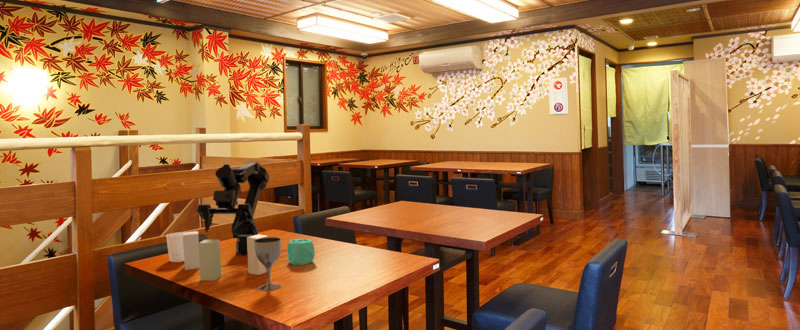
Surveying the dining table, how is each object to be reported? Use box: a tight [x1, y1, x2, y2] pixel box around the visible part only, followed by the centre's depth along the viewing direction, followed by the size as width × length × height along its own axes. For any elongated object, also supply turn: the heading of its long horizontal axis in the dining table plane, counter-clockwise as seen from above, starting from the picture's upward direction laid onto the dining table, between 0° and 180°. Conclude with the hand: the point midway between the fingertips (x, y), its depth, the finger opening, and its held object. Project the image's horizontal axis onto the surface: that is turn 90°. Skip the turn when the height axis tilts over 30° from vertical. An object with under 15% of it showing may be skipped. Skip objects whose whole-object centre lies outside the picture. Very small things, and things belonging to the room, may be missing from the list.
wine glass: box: [254, 236, 282, 292], centre depth 155 cm, size 8×8×15 cm
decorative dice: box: [286, 238, 316, 266], centre depth 184 cm, size 8×8×8 cm
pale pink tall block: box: [182, 230, 200, 271], centre depth 180 cm, size 5×5×12 cm
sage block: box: [199, 238, 222, 281], centre depth 166 cm, size 5×5×12 cm
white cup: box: [165, 231, 184, 263], centre depth 190 cm, size 8×8×10 cm
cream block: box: [247, 233, 269, 276], centre depth 172 cm, size 5×5×12 cm
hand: (219, 231), depth 174 cm, fingers open, 9 cm apart
